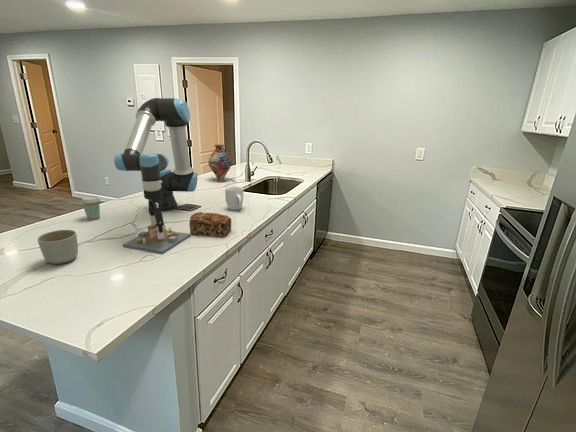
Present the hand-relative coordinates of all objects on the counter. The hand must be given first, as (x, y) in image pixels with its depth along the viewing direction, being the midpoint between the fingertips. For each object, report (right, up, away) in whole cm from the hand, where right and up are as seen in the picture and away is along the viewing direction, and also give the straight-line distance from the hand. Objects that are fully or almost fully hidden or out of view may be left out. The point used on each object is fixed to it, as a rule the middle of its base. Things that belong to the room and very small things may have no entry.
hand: (157, 233), depth 147 cm
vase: (+4, +37, +120) cm, 126 cm away
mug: (+28, +12, +50) cm, 58 cm away
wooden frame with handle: (0, -3, +1) cm, 3 cm away
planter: (-30, -10, -19) cm, 37 cm away
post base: (0, -4, +1) cm, 4 cm away
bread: (+22, 0, +14) cm, 26 cm away
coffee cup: (-46, +6, +27) cm, 54 cm away
